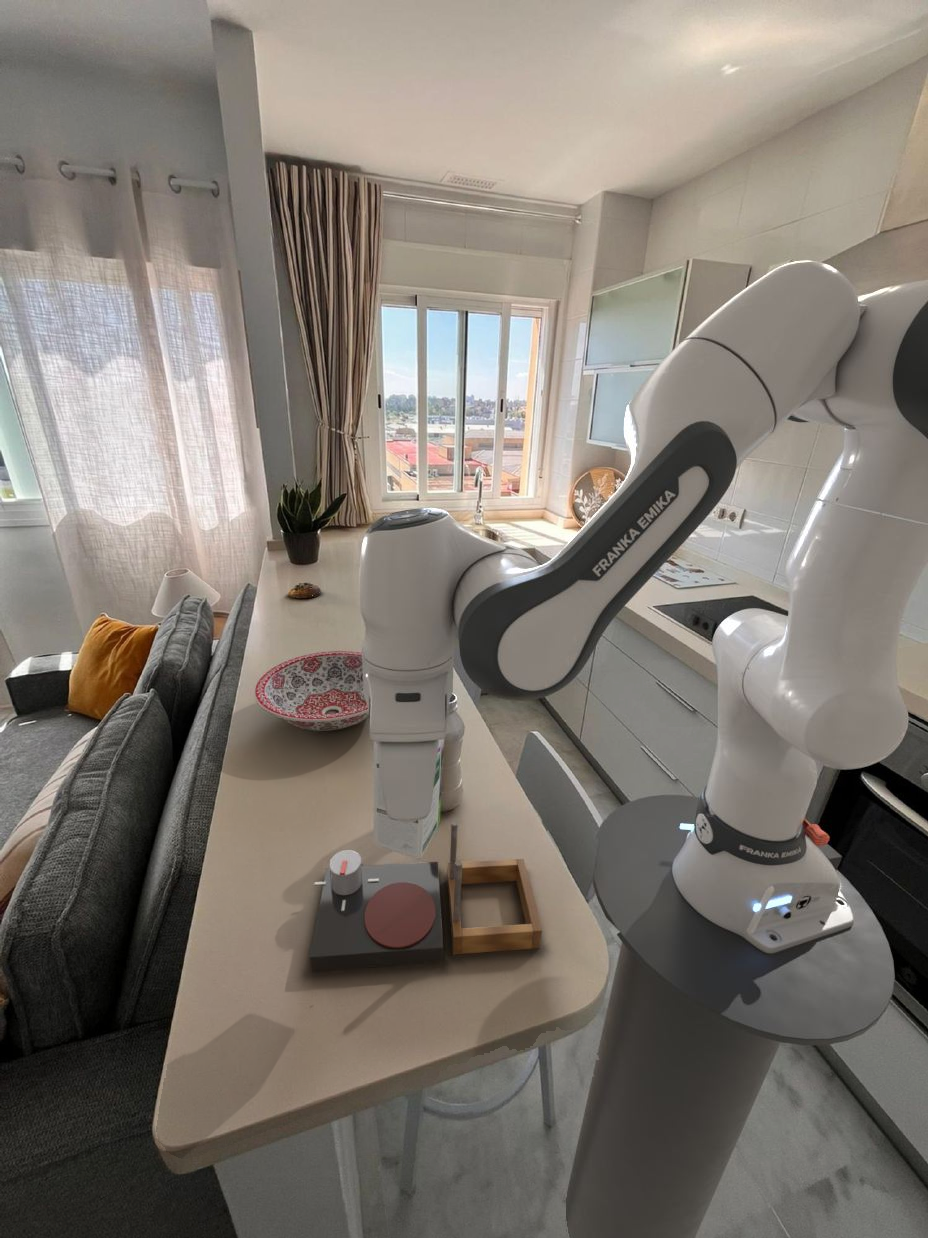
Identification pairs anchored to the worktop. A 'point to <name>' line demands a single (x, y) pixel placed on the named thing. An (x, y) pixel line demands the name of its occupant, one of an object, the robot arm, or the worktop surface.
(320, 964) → the hob
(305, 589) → the bread roll
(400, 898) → the hotplate
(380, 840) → the syrup box
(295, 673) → the ceramic bowl
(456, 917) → the brown wooden holder
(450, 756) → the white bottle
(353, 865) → the hob knob
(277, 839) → the worktop surface
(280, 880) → the worktop surface
